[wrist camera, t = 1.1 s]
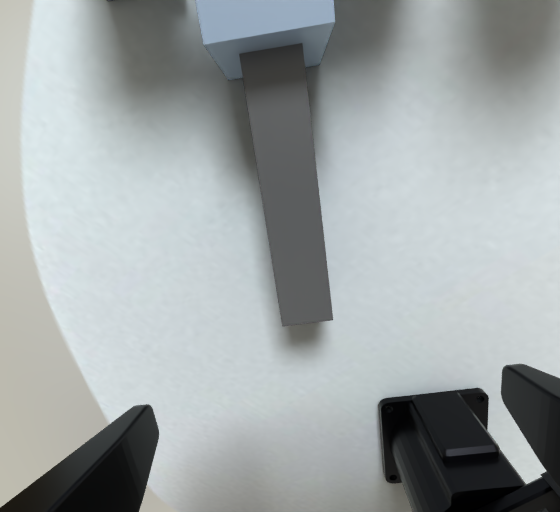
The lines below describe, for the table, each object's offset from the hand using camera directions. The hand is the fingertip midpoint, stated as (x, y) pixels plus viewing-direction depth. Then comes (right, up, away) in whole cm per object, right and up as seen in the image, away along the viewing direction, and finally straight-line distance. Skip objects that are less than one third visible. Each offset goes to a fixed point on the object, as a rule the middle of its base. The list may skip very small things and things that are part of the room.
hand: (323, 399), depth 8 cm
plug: (-1, +9, +8) cm, 12 cm away
